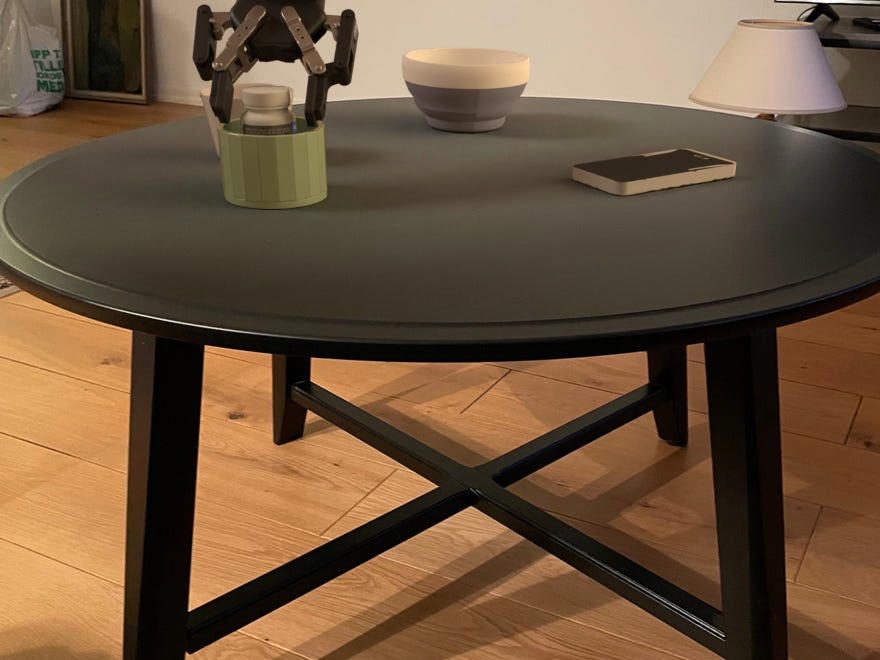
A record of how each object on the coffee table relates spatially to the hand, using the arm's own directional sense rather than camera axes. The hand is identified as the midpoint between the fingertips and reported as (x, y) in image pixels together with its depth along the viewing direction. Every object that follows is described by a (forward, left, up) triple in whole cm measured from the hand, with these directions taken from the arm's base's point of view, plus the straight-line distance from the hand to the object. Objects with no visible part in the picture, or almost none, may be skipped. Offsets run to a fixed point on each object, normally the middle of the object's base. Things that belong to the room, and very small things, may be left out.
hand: (266, 119), depth 86 cm
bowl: (+37, +4, -7) cm, 38 cm away
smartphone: (+27, -24, -7) cm, 37 cm away
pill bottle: (+1, +1, -6) cm, 7 cm away
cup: (+1, +1, -7) cm, 7 cm away
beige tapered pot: (+11, +13, -7) cm, 18 cm away
